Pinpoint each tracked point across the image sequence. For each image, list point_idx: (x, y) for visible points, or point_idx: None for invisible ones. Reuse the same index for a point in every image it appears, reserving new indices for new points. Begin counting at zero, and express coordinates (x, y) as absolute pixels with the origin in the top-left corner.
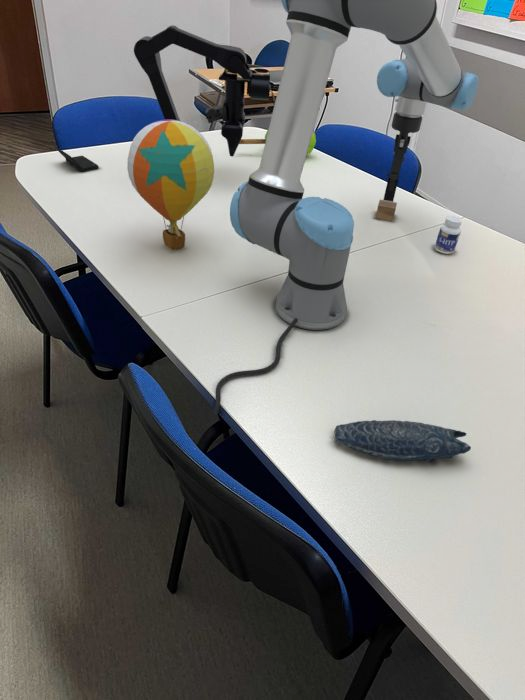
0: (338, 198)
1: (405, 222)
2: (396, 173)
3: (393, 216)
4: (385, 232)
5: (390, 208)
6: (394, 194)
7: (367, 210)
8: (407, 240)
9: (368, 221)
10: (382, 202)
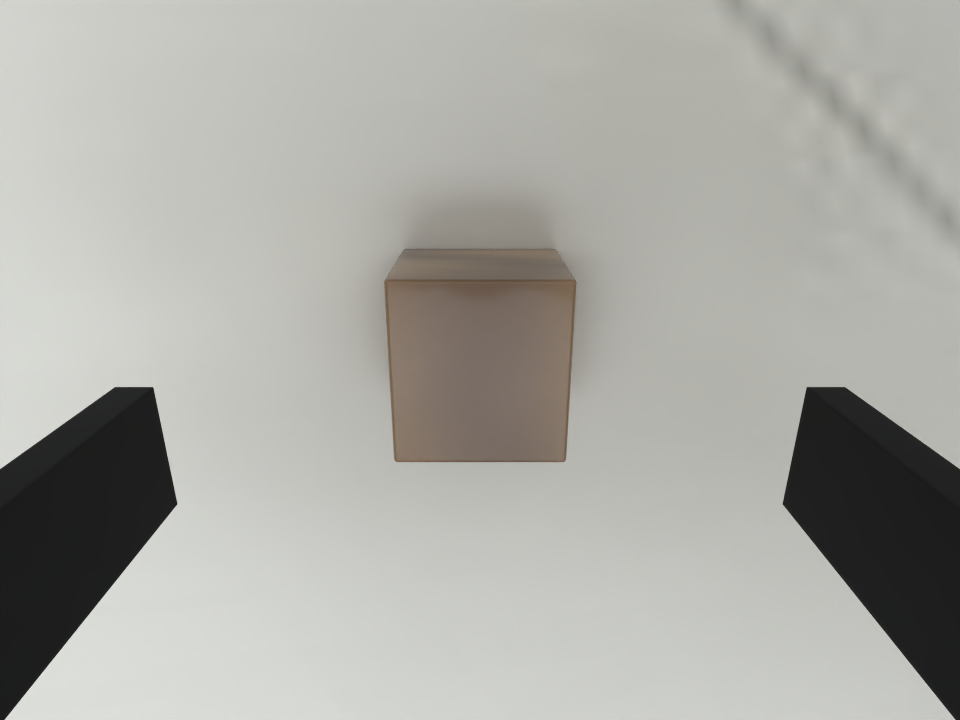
0: (285, 680)
1: (514, 118)
2: (53, 524)
3: (564, 263)
4: (809, 290)
5: (571, 334)
6: (911, 441)
7: (403, 473)
8: (941, 70)
9: (627, 443)
10: (464, 430)
